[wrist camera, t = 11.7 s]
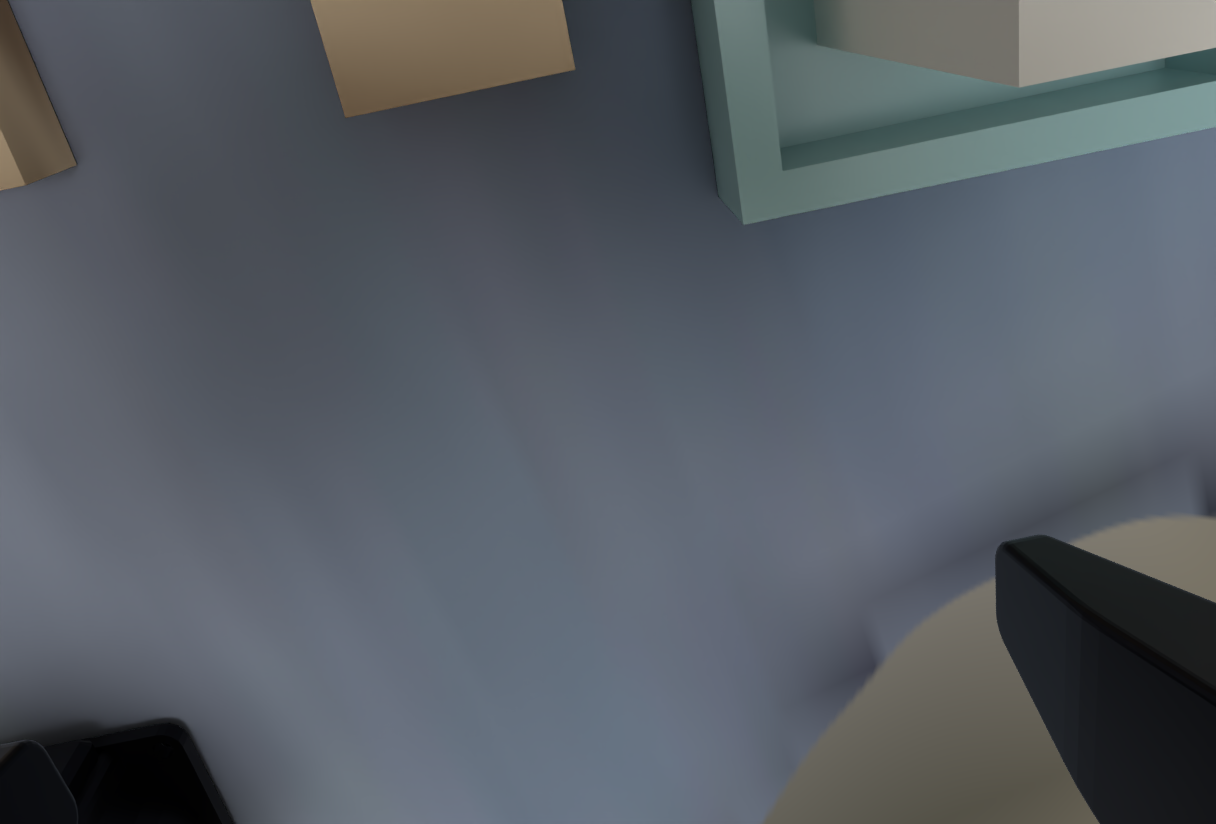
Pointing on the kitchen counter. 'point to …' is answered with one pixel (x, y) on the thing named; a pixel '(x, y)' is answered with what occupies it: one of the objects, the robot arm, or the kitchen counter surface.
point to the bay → (331, 64)
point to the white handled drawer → (1017, 34)
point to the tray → (903, 113)
